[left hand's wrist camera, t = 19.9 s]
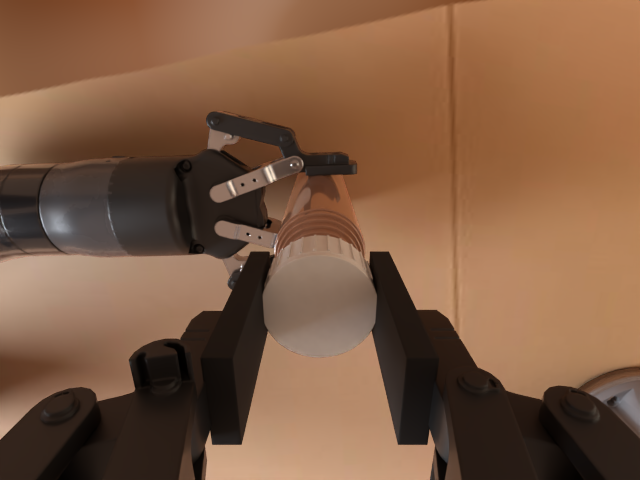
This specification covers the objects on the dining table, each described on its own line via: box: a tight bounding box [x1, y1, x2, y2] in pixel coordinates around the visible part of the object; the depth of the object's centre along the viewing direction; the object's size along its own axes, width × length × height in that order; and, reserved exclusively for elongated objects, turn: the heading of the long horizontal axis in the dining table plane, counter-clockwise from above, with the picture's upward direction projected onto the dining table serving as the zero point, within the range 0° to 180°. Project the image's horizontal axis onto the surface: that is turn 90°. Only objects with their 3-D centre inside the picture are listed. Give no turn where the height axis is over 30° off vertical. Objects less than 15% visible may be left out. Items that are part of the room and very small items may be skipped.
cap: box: [263, 235, 377, 358], centre depth 14 cm, size 4×4×2 cm
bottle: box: [274, 172, 365, 258], centre depth 23 cm, size 4×4×21 cm
